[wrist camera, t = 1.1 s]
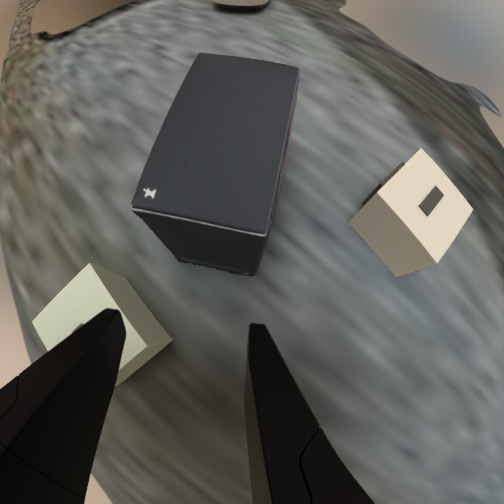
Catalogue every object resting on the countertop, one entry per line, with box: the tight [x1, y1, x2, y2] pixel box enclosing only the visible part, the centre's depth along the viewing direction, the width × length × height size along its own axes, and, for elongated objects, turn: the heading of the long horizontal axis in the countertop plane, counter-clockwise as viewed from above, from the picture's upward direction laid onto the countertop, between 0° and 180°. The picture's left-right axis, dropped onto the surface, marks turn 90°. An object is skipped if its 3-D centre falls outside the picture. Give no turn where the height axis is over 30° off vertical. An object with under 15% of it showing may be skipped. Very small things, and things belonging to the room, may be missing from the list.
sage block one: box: [32, 263, 172, 387], centre depth 18 cm, size 6×6×6 cm
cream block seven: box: [348, 149, 473, 278], centre depth 20 cm, size 6×6×6 cm
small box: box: [130, 53, 300, 276], centre depth 18 cm, size 11×6×10 cm, turn 168°
